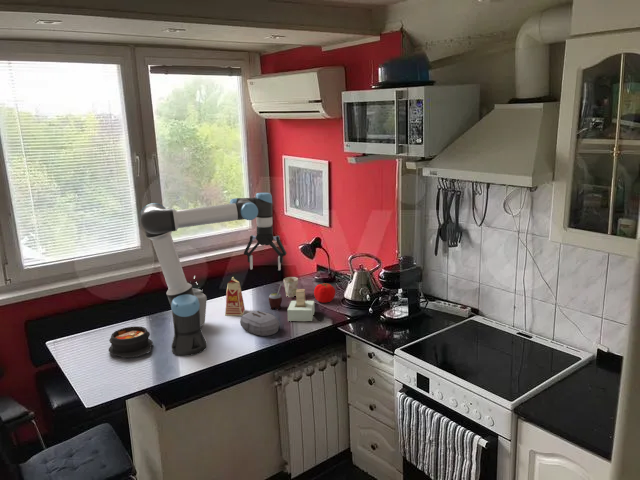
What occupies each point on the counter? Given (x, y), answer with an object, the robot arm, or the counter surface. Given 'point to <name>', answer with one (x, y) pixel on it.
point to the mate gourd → (275, 299)
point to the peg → (300, 298)
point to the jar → (201, 304)
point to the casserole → (130, 342)
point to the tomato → (324, 292)
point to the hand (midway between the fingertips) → (265, 269)
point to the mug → (291, 286)
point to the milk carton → (234, 299)
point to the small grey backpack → (260, 323)
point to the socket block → (301, 311)
